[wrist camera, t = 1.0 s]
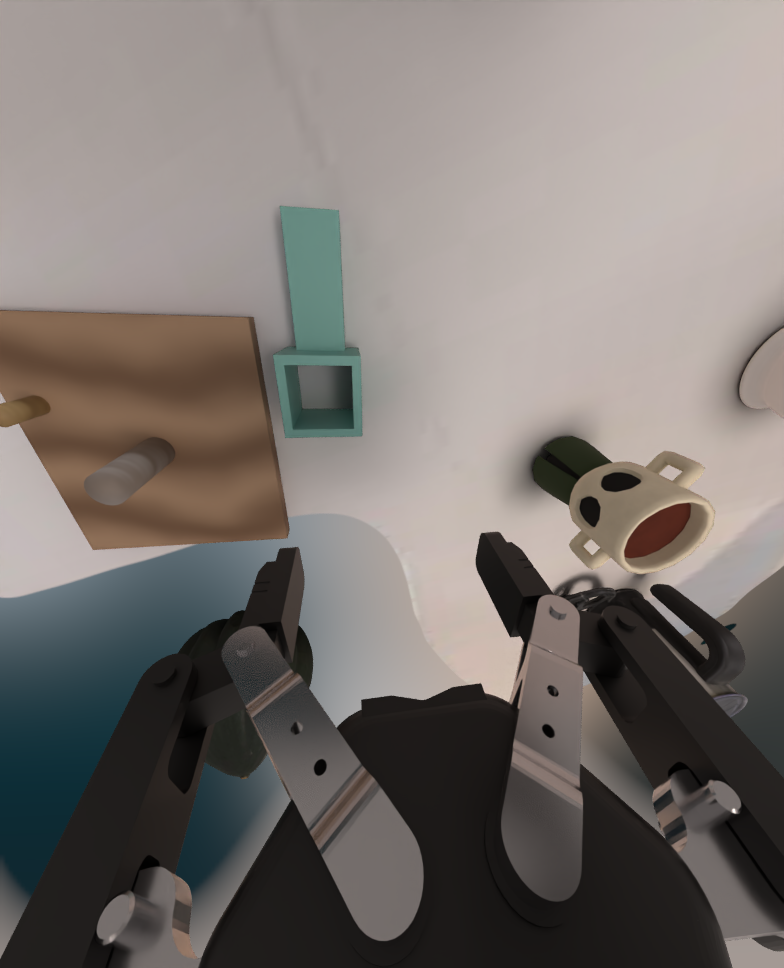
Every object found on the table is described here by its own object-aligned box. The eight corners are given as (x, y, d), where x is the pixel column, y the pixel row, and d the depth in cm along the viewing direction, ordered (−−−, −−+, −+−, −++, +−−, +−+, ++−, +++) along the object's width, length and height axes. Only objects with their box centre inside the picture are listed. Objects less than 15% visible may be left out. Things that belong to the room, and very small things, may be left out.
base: (-24, 309, 21) (-208, 308, 14) (253, 317, 23) (213, 319, 16) (103, 539, 31) (32, 606, 24) (289, 529, 33) (274, 587, 26)
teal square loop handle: (270, 215, 20) (247, 186, 16) (354, 221, 21) (357, 195, 16) (296, 415, 27) (285, 437, 22) (359, 415, 28) (362, 436, 23)
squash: (142, 624, 29) (117, 825, 25) (302, 602, 32) (307, 784, 27) (208, 614, 43) (200, 743, 38) (317, 599, 45) (323, 720, 40)
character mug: (572, 401, 30) (709, 455, 19) (616, 434, 32) (760, 499, 21) (501, 488, 34) (578, 575, 23) (545, 511, 36) (634, 600, 25)
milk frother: (629, 623, 51) (725, 728, 38) (539, 639, 50) (606, 753, 37) (660, 559, 44) (791, 662, 31) (555, 576, 42) (646, 691, 30)
